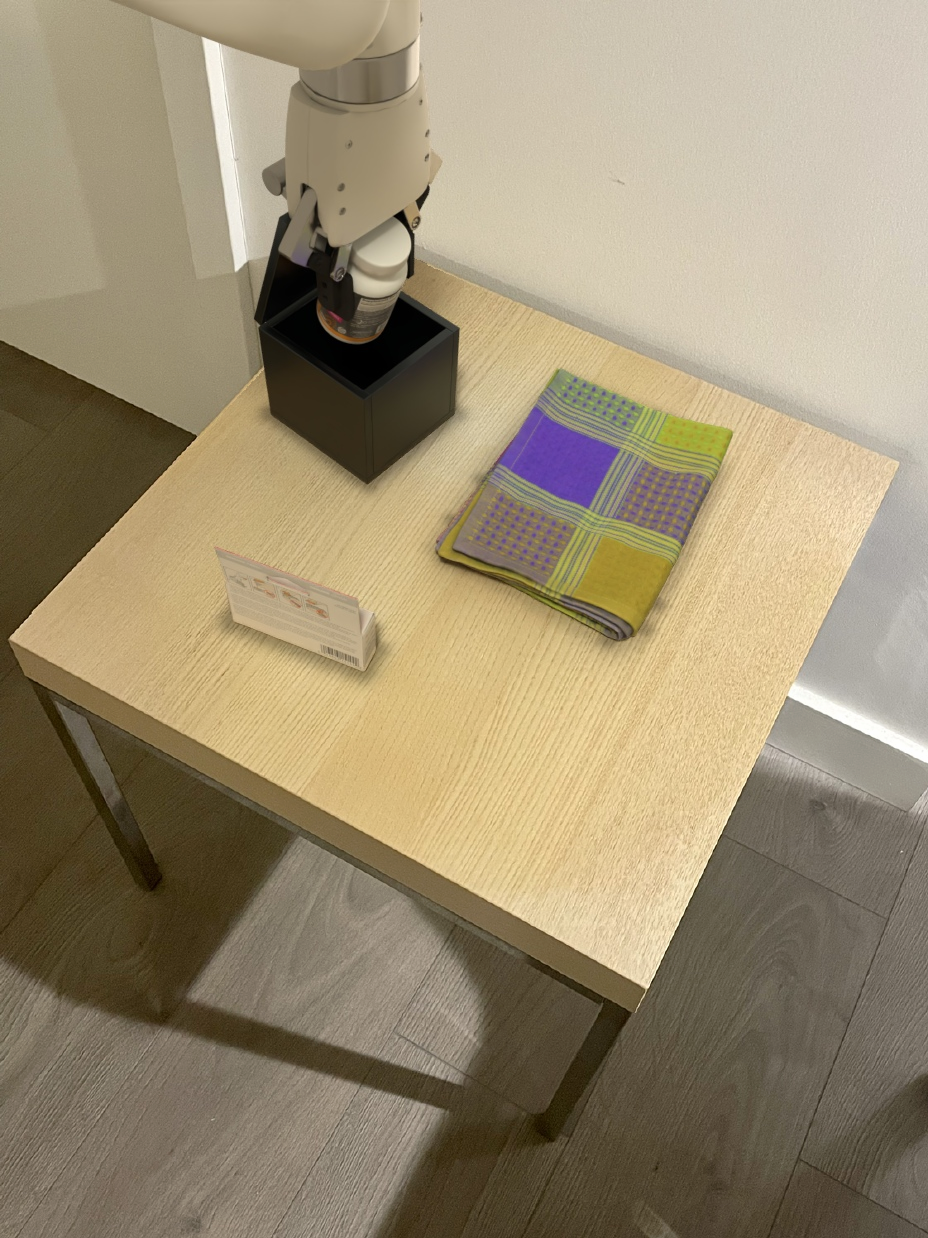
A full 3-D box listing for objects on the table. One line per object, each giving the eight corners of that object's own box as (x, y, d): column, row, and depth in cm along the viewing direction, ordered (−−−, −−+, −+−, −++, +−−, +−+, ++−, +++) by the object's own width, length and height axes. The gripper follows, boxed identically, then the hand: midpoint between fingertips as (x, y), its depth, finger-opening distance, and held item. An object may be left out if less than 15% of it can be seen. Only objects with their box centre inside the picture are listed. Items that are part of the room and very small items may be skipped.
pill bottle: (303, 293, 84) (326, 211, 76) (368, 278, 87) (398, 196, 78) (332, 355, 84) (359, 279, 75) (397, 338, 86) (431, 262, 77)
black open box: (455, 413, 94) (460, 327, 86) (367, 484, 89) (363, 400, 81) (359, 349, 98) (355, 260, 90) (270, 414, 93) (257, 326, 85)
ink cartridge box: (246, 599, 82) (229, 519, 74) (378, 649, 81) (375, 573, 72) (230, 624, 81) (211, 546, 73) (364, 675, 79) (359, 601, 71)
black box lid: (397, 155, 78) (347, 102, 78) (286, 225, 73) (233, 168, 73) (358, 259, 89) (314, 213, 89) (260, 325, 84) (214, 277, 84)
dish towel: (738, 450, 93) (747, 428, 91) (625, 658, 81) (631, 639, 79) (558, 375, 97) (561, 352, 95) (424, 563, 85) (425, 542, 83)
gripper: (408, -18, 71) (407, 216, 86) (212, 86, 64) (248, 322, 79) (494, 27, 69) (478, 259, 84) (301, 139, 61) (321, 373, 76)
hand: (366, 287), depth 81 cm, fingers closed on pill bottle, 5 cm apart
